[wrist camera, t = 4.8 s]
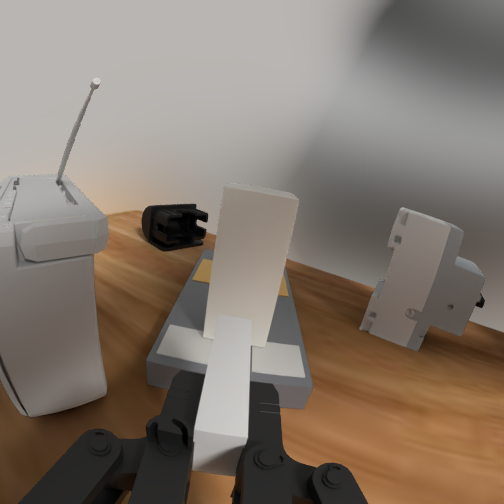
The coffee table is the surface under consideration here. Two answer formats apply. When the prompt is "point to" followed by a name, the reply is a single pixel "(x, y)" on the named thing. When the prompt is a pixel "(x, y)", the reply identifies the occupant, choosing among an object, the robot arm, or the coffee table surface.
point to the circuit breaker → (423, 283)
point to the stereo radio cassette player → (50, 290)
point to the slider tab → (250, 257)
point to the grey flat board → (198, 348)
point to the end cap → (173, 226)
